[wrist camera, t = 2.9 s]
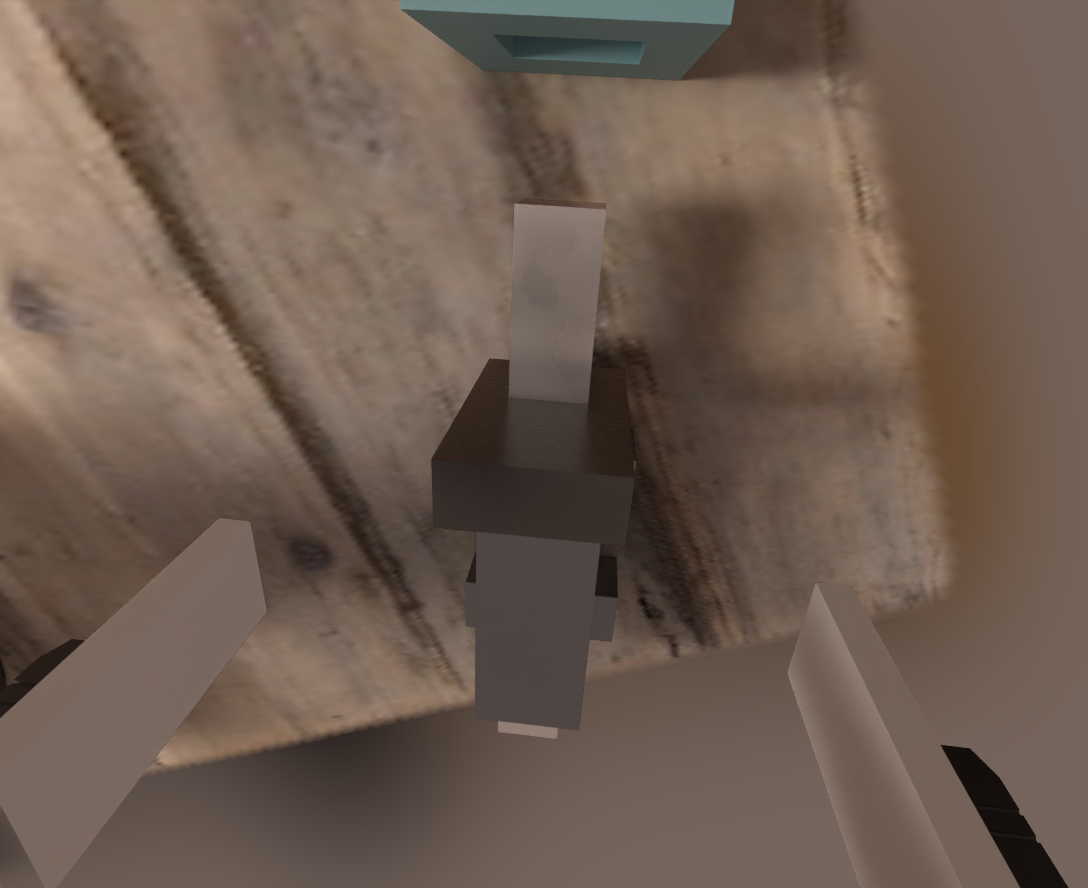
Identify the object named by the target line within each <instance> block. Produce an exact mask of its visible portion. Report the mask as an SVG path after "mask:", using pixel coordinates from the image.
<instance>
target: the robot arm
mask: <svg viewBox="0 0 1088 888" xmlns="http://www.w3.org/2000/svg"><path fill="white" fill-rule="evenodd" d="M266 612H267V609H266V604H265V598H264V593H263V588H262V582H261V577H260V572H259V567H258V561H257V556H256V551H255V545H254V540H253V535H252V529H251V524H250V521H242V520H232V519H223V518H219V519H218V520H217V521H215V522H214V523H213V524H212V525H211V526H210V527H209V528H208V529H207V530H206V531H205V532H203V533H202V534H201V535H200V536H199V537H198V538H197V539H196V540H195V541H194V542H193V543H191V544H190V545H189V546H188V547H187V548H186V549H185V550H184V551H183V552H182V553H180V554H179V555H178V556H177V557H176V558H175V559H174V560H173V561H172V562H171V563H170V564H168V565H167V566H166V567H165V568H164V569H163V570H162V571H161V572H160V573H159V574H158V575H156V576H155V577H154V578H153V579H152V580H151V581H150V582H149V583H148V584H147V585H145V586H144V587H143V588H142V589H141V590H140V591H139V592H138V593H137V594H136V595H135V596H133V597H132V598H131V599H130V600H129V601H128V602H127V603H126V604H125V605H124V606H122V607H121V608H120V609H119V610H118V611H117V612H116V613H115V614H114V615H113V616H112V617H110V618H109V619H108V620H107V621H106V622H105V623H104V624H103V625H102V626H101V627H100V628H98V629H97V630H96V631H95V632H94V633H93V634H92V635H91V636H90V637H89V638H87V639H86V640H85V641H83V640H75V639H71V640H70V641H68V642H66V643H64V644H62V645H61V646H59V647H57V648H55V649H54V650H52V651H50V652H48V653H47V654H45V655H43V656H41V657H40V658H38V659H37V660H36V661H35V662H34V663H33V664H31V665H30V666H29V667H28V668H27V669H26V670H25V671H23V672H22V673H21V674H20V675H19V676H18V677H17V678H15V679H14V680H13V684H12V685H7V686H6V687H5V688H4V678H3V674H2V670H1V667H0V883H1V885H2V886H3V888H57V886H58V885H59V884H60V882H61V881H62V880H63V878H64V877H65V876H66V874H67V873H68V872H69V870H70V869H71V868H72V866H73V865H74V864H75V863H76V861H77V860H78V859H79V857H80V856H81V855H82V853H83V852H84V851H85V850H86V848H87V847H88V845H89V844H90V843H91V842H92V840H93V839H94V838H95V836H96V835H97V833H98V832H99V831H100V830H101V829H102V827H103V826H104V825H105V823H106V822H107V820H108V819H109V818H110V817H111V815H112V814H113V813H114V811H115V810H116V809H117V808H118V806H119V805H120V804H121V802H122V801H123V799H124V798H125V797H126V796H127V794H128V793H129V792H130V790H131V789H132V788H133V787H134V785H135V784H136V783H137V781H138V780H139V779H140V777H141V776H142V775H143V773H144V772H145V771H146V770H147V768H148V767H149V766H150V764H151V763H152V762H153V760H154V759H155V758H156V756H157V755H158V754H159V753H160V751H161V750H162V749H163V747H164V746H165V745H166V743H167V742H168V741H169V739H170V738H171V737H172V735H173V734H174V733H175V732H176V730H177V729H178V728H179V726H180V725H181V724H182V722H183V721H184V720H185V718H186V717H187V716H188V714H189V713H190V712H191V711H192V709H193V708H194V707H195V705H196V704H197V703H198V701H199V700H200V699H201V697H202V696H203V695H204V694H205V692H206V691H207V690H208V688H209V687H210V686H211V684H212V683H213V682H214V680H215V679H216V678H217V676H218V675H219V674H220V673H221V671H222V670H223V669H224V667H225V666H226V665H227V663H228V662H229V661H230V659H231V658H232V657H233V655H234V654H235V653H236V652H237V650H238V649H239V648H240V646H241V645H242V644H243V642H244V641H245V640H246V638H247V637H248V636H249V635H250V633H251V632H252V631H253V629H254V628H255V627H256V625H257V624H258V623H259V621H260V620H261V619H262V617H263V616H264V615H265V614H266ZM787 674H788V677H789V679H790V682H791V685H792V688H793V691H794V694H795V697H796V700H797V703H798V706H799V709H800V712H801V714H802V718H803V721H804V724H805V726H806V729H807V732H808V735H809V738H810V741H811V744H812V747H813V750H814V753H815V756H816V759H817V762H818V765H819V768H820V771H821V774H822V777H823V779H824V782H825V785H826V788H827V791H828V794H829V797H830V800H831V803H832V806H833V809H834V812H835V815H836V818H837V821H838V824H839V826H840V829H841V832H842V835H843V838H844V841H845V844H846V847H847V850H848V853H849V856H850V859H851V862H852V865H853V868H854V871H855V874H856V877H857V879H858V882H859V885H860V888H1068V886H1067V885H1066V884H1065V882H1064V880H1063V878H1062V877H1061V875H1060V874H1059V872H1058V871H1057V869H1056V867H1055V866H1054V864H1053V863H1052V861H1051V859H1050V858H1049V856H1048V854H1047V853H1046V851H1045V850H1044V848H1043V847H1042V845H1041V843H1038V842H1037V841H1036V835H1035V834H1034V832H1033V830H1032V829H1031V827H1030V826H1029V824H1028V822H1027V821H1026V819H1025V818H1024V816H1022V815H1020V814H1019V808H1018V807H1017V805H1016V803H1015V802H1014V801H1013V799H1012V797H1011V796H1010V794H1009V792H1008V790H1007V789H1006V787H1005V786H1004V784H1003V782H1002V781H1001V780H1000V778H999V777H998V776H997V775H996V774H995V773H994V772H993V771H992V770H991V769H990V768H989V767H988V766H987V765H986V764H985V763H984V762H983V761H982V760H981V759H980V758H979V757H978V756H977V755H976V754H975V753H974V752H973V751H972V750H971V749H970V748H962V747H954V746H946V745H940V744H939V742H938V740H937V738H936V736H935V735H934V733H933V731H932V729H931V727H930V726H929V724H928V722H927V720H926V719H925V717H924V715H923V713H922V711H921V710H920V708H919V706H918V704H917V703H916V701H915V699H914V697H913V695H912V693H911V692H910V690H909V688H908V686H907V685H906V683H905V681H904V679H903V678H902V676H901V674H900V672H899V670H898V669H897V667H896V665H895V663H894V661H893V659H892V658H891V656H890V654H889V653H888V651H887V649H886V647H885V645H884V644H883V642H882V640H881V638H880V636H879V634H878V633H877V631H876V629H875V627H874V626H873V624H872V622H871V620H870V618H869V617H868V615H867V613H866V611H865V609H864V608H863V606H862V604H861V602H860V600H859V599H858V597H857V595H856V593H855V592H854V590H853V588H852V586H849V585H840V584H831V583H821V582H816V583H815V586H814V589H813V592H812V596H811V599H810V602H809V605H808V608H807V612H806V615H805V618H804V621H803V624H802V627H801V631H800V634H799V637H798V640H797V644H796V647H795V650H794V653H793V656H792V659H791V662H790V665H789V669H788V672H787Z"/></svg>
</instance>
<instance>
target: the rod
mask: <svg viewBox="0 0 1088 888" xmlns="http://www.w3.org/2000/svg"><path fill="white" fill-rule="evenodd" d="M605 217H606V204H605V203H590V202H575V201H559V200H544V199H529V198H525V199H523V200H521V201H519V202H517V203H515V209H514V240H513V272H512V304H511V336H510V360H502V359H489V361H488V362H487V364H486V366H485V368H484V369H483V371H482V373H481V375H480V376H479V378H478V380H477V381H476V383H475V385H474V387H473V388H472V390H471V392H470V394H469V395H468V397H467V399H466V400H465V402H464V404H463V406H462V407H461V409H460V411H459V413H458V414H457V416H456V418H455V419H454V421H453V423H452V425H451V426H450V428H449V430H448V431H447V433H446V435H445V437H444V438H443V440H442V442H441V444H440V445H439V447H438V449H437V450H436V452H435V454H434V456H433V457H432V459H431V461H432V495H433V527H435V528H445V529H455V530H465V531H475V532H485V533H496V534H506V535H516V536H526V537H536V538H546V539H556V540H567V541H577V542H587V543H597V544H607V545H617V546H626V540H627V532H628V525H629V518H630V511H631V503H632V496H633V489H634V482H635V473H634V462H633V452H632V441H631V431H630V420H629V410H628V399H627V389H626V379H625V369H613V368H601V367H592V356H593V346H594V335H595V324H596V314H597V303H598V292H599V281H600V271H601V260H602V249H603V239H604V228H605ZM557 731H558V728H553V727H545V726H536V725H527V724H519V723H510V722H502V721H498V732H504V733H513V734H522V735H530V736H538V737H546V738H555V739H556V738H557Z"/></svg>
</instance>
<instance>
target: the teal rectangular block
mask: <svg viewBox="0 0 1088 888" xmlns="http://www.w3.org/2000/svg"><path fill="white" fill-rule="evenodd" d="M734 1H735V0H400V9H401V10H402V11H404V12H405V13H406V14H408V15H409V16H410V17H412V18H413V19H414V20H416V21H417V22H419V23H420V24H421V25H423V26H424V27H425V28H427V29H428V30H429V31H431V32H432V33H433V34H435V35H436V36H437V37H439V38H440V39H442V40H443V41H444V42H446V43H447V44H448V45H450V46H451V47H452V48H454V49H455V50H456V51H458V52H459V53H460V54H462V55H463V56H464V57H466V58H467V59H469V60H470V61H471V62H473V63H474V64H475V65H477V66H478V67H479V68H481V69H482V70H492V71H511V72H530V73H549V74H568V75H587V76H606V77H625V78H644V79H662V80H680V79H681V78H682V77H683V76H684V74H685V73H686V72H687V71H688V70H689V69H690V68H691V67H692V66H693V65H694V64H695V63H696V62H697V61H698V59H699V58H700V57H701V56H702V55H703V54H704V53H705V52H706V51H707V50H708V49H709V48H710V47H711V45H712V44H713V43H714V42H715V41H716V40H717V39H718V38H719V37H720V36H721V35H722V34H723V33H724V32H725V30H726V29H727V28H728V27H729V26H730V25H731V20H732V14H733V8H734Z"/></svg>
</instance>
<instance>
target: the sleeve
mask: <svg viewBox="0 0 1088 888" xmlns="http://www.w3.org/2000/svg"><path fill="white" fill-rule="evenodd" d="M630 431H631V441H632V452H633V462H634V473H635V468H636V453H635V444H634V434H633V431H632V430H630ZM599 553H600V544H597V543H587V542H577V541H567V540H556V539H546V538H536V537H526V536H516V535H506V534H496V533H485V532H476V553H475V556H474V559H473V562H472V565H471V568H470V571H469V574H468V577H467V580H466V626H470V627H476V645H475V718H476V719H485V720H493V721H502V722H510V723H519V724H527V725H536V726H545V727H553V728H562V729H570V730H579V726H580V717H581V708H582V700H583V691H584V683H585V674H586V665H587V657H588V648H589V639H590V640H600V641H609V642H612V636H613V628H614V621H615V614H616V606H617V599H618V593H617V559H616V558H613V557H603V556H599Z"/></svg>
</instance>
